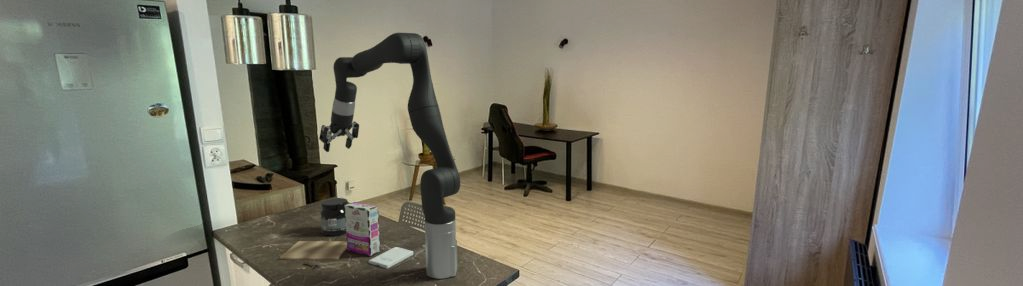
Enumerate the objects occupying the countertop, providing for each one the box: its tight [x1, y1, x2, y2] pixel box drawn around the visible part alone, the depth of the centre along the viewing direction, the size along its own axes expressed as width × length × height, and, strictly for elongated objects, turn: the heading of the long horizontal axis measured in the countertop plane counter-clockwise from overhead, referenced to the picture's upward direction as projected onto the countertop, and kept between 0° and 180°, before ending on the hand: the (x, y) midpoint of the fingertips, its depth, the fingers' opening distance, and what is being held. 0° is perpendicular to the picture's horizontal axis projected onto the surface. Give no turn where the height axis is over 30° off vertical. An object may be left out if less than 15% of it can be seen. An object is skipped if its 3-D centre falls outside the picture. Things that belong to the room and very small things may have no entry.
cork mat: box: [279, 240, 347, 261], centre depth 162 cm, size 19×14×1 cm
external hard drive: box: [368, 246, 414, 270], centre depth 156 cm, size 2×8×12 cm
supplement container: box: [319, 197, 349, 237], centre depth 179 cm, size 10×10×12 cm
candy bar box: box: [345, 201, 381, 257], centre depth 161 cm, size 11×5×16 cm, turn 62°
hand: (337, 149), depth 177 cm, fingers open, 8 cm apart
